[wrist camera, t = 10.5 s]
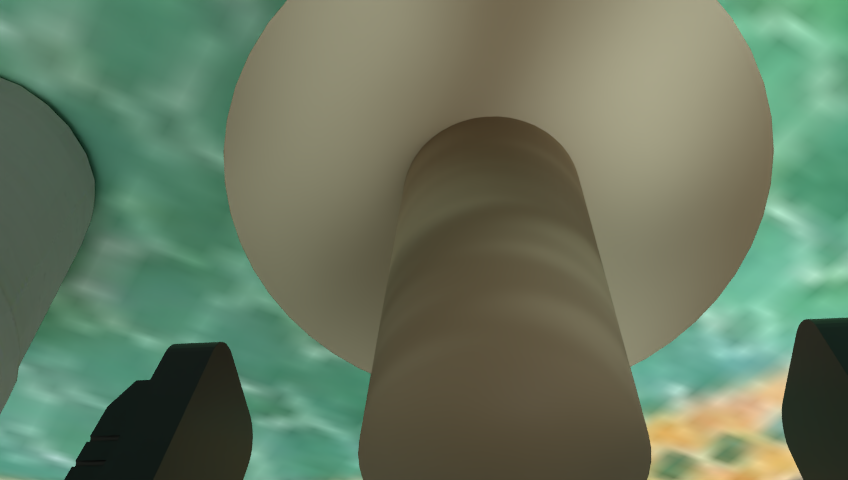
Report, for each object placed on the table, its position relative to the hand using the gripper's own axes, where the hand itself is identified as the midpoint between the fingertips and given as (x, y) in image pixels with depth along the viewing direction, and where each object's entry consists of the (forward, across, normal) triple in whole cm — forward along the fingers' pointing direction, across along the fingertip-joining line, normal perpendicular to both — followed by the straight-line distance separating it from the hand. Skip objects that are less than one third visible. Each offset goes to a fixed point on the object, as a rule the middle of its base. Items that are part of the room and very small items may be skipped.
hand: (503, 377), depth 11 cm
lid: (+6, 0, 0) cm, 6 cm away
